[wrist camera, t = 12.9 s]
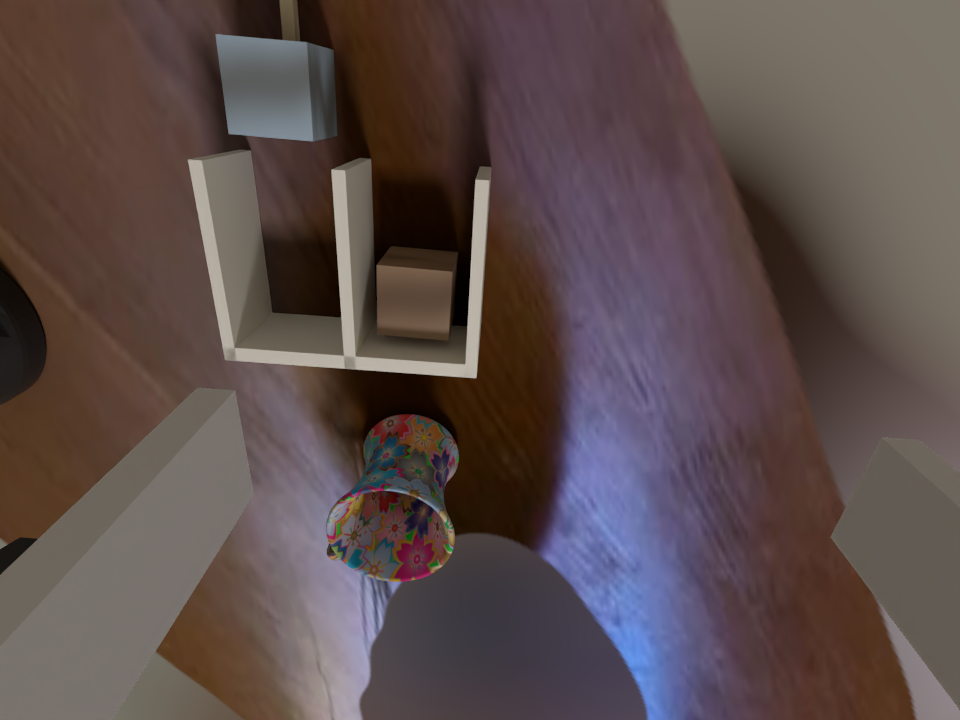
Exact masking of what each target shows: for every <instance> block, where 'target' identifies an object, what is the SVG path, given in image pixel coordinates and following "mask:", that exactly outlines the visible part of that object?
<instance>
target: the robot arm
mask: <svg viewBox="0 0 960 720" xmlns="http://www.w3.org/2000/svg"><path fill="white" fill-rule="evenodd" d="M45 360H46V343H45V337H44V334H43V330H42V327H41V324H40V322H39V319H38V317H37V315H36V313H35V311H34V309H33V308H32V306H31V304H30V303H29V301H28V300H27V298H26V297H25V296H24V294H23V293H22V292H21V290H20V289H19V288H18V287H17V285H16V284H15V283H14V282H13V281H12V280H11V279H10V278H9V277H8V276H7V275H6V274H5V273H4V272H3V271H2V270H1V269H0V405H1V404H4V403H6V402H7V401H9V400H11V399H12V398H14V397H16V396H17V395H19V394H21V393H22V392H24V391H25V390H27V389H28V388H30V387H31V386H32V385H33V384H34V383H35V382H36V381H37V380H38V378H39V377H40V375H41V373H42V371H43V368H44V365H45ZM253 495H254V493H253V487H252V482H251V476H250V470H249V465H248V459H247V454H246V448H245V443H244V437H243V432H242V426H241V421H240V415H239V410H238V404H237V399H236V393H235V390H222V389H208V388H197V389H196V390H195V391H194V392H193V393H191V394H190V395H189V396H188V397H187V398H186V399H185V400H184V401H183V402H182V403H181V404H180V405H179V406H178V407H177V408H176V409H175V410H174V411H173V412H171V413H170V414H169V415H168V416H167V417H166V418H165V419H164V420H163V421H162V422H161V423H160V424H159V425H158V426H157V427H156V428H155V429H154V430H152V431H151V432H150V433H149V434H148V435H147V436H146V437H145V438H144V439H143V440H142V441H141V442H140V443H139V444H138V445H137V446H136V447H135V448H134V449H132V450H131V451H130V452H129V453H128V454H127V455H126V456H125V457H124V458H123V459H122V460H121V461H120V462H119V463H118V464H117V465H116V466H115V467H113V468H112V469H111V470H110V471H109V472H108V473H107V474H106V475H105V476H104V477H103V478H102V479H101V480H100V481H99V482H98V483H97V484H96V485H94V486H93V487H92V488H91V489H90V490H89V491H88V492H87V493H86V494H85V495H84V496H83V497H82V498H81V499H80V500H79V501H78V502H77V503H76V504H74V505H73V506H72V507H71V508H70V509H69V510H68V511H67V512H66V513H65V514H64V515H63V516H62V517H61V518H60V519H59V520H58V521H57V522H55V523H54V524H53V525H52V526H51V527H50V528H49V529H48V530H47V531H46V532H45V533H44V534H43V535H42V536H41V537H40V538H39V539H33V538H19V539H17V540H15V541H13V542H12V543H10V544H8V545H7V546H5V547H3V548H2V549H0V720H113V718H114V717H115V715H116V714H117V712H118V710H119V709H120V707H121V706H122V704H123V702H124V701H125V699H126V697H127V696H128V694H129V693H130V691H131V690H132V688H133V686H134V685H135V683H136V682H137V680H138V678H139V677H140V675H141V674H142V672H143V670H144V669H145V667H146V666H147V664H148V662H149V661H150V659H151V658H152V656H153V655H154V653H155V651H156V650H157V648H158V647H159V645H160V643H161V642H162V640H163V639H164V637H165V635H166V634H167V632H168V631H169V629H170V627H171V626H172V624H173V623H174V621H175V620H176V618H177V616H178V615H179V613H180V612H181V610H182V608H183V607H184V605H185V604H186V602H187V600H188V599H189V597H190V596H191V594H192V592H193V591H194V589H195V588H196V586H197V584H198V583H199V581H200V580H201V578H202V576H203V575H204V573H205V572H206V570H207V569H208V567H209V565H210V564H211V562H212V561H213V559H214V557H215V556H216V554H217V553H218V551H219V549H220V548H221V546H222V545H223V543H224V541H225V540H226V538H227V537H228V535H229V533H230V532H231V530H232V529H233V527H234V525H235V524H236V522H237V521H238V519H239V518H240V516H241V514H242V513H243V511H244V510H245V508H246V506H247V505H248V503H249V502H250V500H251V498H252V497H253ZM831 538H832V540H833V541H834V542H835V544H836V545H837V546H838V548H839V549H840V550H841V552H842V553H843V554H844V556H845V557H846V558H847V560H848V561H849V562H850V564H851V565H852V566H853V568H854V569H855V570H856V572H857V573H858V574H859V576H860V577H861V578H862V580H863V581H864V582H865V584H866V585H867V586H868V588H869V589H870V590H871V592H872V593H873V594H874V596H875V597H876V598H877V600H878V601H879V602H880V604H881V605H882V606H883V608H884V609H885V610H886V612H887V613H888V614H889V616H890V617H891V618H892V620H893V621H894V623H895V624H896V625H897V627H898V628H899V629H900V631H901V632H902V633H903V635H904V636H905V637H906V639H907V640H908V641H909V643H910V644H911V645H912V646H913V648H914V649H915V651H916V652H917V653H918V654H919V656H920V657H921V659H922V660H923V661H924V662H925V664H926V665H927V667H928V668H929V669H930V671H931V672H932V673H933V675H934V676H935V677H936V679H937V680H938V681H939V683H940V684H941V685H942V686H943V688H944V689H945V691H946V692H947V693H948V694H949V696H950V697H951V698H952V700H953V701H954V703H955V704H956V705H957V707H958V708H959V709H960V473H959V472H958V471H957V470H955V469H954V468H953V467H952V466H950V465H949V464H948V463H947V462H946V461H944V460H943V459H942V458H941V457H939V456H938V455H937V454H936V453H935V452H933V451H932V450H931V449H930V448H928V447H927V446H926V445H925V444H923V443H922V442H921V441H920V440H910V439H896V438H884V437H881V439H880V441H879V443H878V445H877V447H876V449H875V451H874V453H873V455H872V457H871V459H870V461H869V463H868V465H867V467H866V469H865V471H864V473H863V475H862V477H861V478H860V480H859V483H858V484H857V486H856V488H855V490H854V492H853V494H852V496H851V498H850V500H849V502H848V504H847V506H846V508H845V510H844V512H843V514H842V516H841V518H840V520H839V522H838V524H837V526H836V528H835V530H834V532H833V534H832V535H831Z"/></svg>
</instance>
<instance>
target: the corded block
mask: <svg viewBox="0 0 960 720" xmlns="http://www.w3.org/2000/svg"><path fill="white" fill-rule="evenodd" d="M279 1H280V13H281V25H282V37H283V40H275V39H264V38H253V37H241V36H230V35H219V34H215V35H216V42H217V50H218V57H219V65H220V72H221V80H222V87H223V95H224V102H225V110H226V117H227V125H228V133H229V134H235V135H246V136H258V137H269V138H280V139H292V140H303V141H317V140H322V139H326V138H331V137H335V136H337V114H336V91H335V69H334V50H332V49H328V48H325V47H321V46H318V45H314V44H311V43H308V42H300V32H299V17H298V3H297V0H279Z"/></svg>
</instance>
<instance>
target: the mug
mask: <svg viewBox="0 0 960 720" xmlns="http://www.w3.org/2000/svg"><path fill="white" fill-rule="evenodd" d="M363 451H364V459H365V462H366V468H365V472H364V474H363V476H362V478H361V480H360V481H359V482H358V484H357V485H356V486H355V487H354V488H353V489H352V490H351V491H350V492H348V493H347V494H346V495H344V496H343V497H342V498H341V499H339V500H338V501H337V502H336V504H335V505H334V506H333V508H332V509H331V511H330V513H329V516H328V519H327V524H326V531H327V537H328V541H329V543H330V544H329V546H328V548H327V555H328V557H329V558H330V559H332V560H339V559H341V560H342V561H343V562H344V563H345V564H346V565H348V566H349V567H351V568H352V569H354V570H355V571H357V572H359V573H361V574H363V575H366V576H368V577H371V578H375V579H379V580H384V581H396V582H400V581H410V580H416V579H419V578H423V577H425V576H428V575H430V574H432V573H433V572H435V571H437V570H438V569H439V568H441V566H443V565H444V564H445V562H446V561H447V560H448V558H449V557H450V555H451V553H452V551H453V547H454V541H455V534H454V528H453V525H452V522H451V520H450V518H449V516H448V514H447V512H446V509H445V505H444V488H445V485H446V482H448V481H449V480H450V479H451V477H452V476H453V474H454V473H455V471H456V469H457V466H458V462H459V452H458V448H457V444H456V442H455V440H454V438H453V437H452V435H451V434H450V433H449V431H448V430H447V429H446V428H445V427H443V426H442V425H441V424H439V423H438V422H436V421H434V420H432V419H430V418H427V417H424V416H420V415H415V414H400V415H395V416H391V417H388V418H386V419H384V420H382V421H380V422H379V423H377V424H376V425H375V426H374V427H373V428H372V429H371V430H370V432H369V433H368V435H367V437H366V439H365V442H364V449H363Z"/></svg>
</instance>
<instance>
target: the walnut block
mask: <svg viewBox="0 0 960 720" xmlns="http://www.w3.org/2000/svg"><path fill="white" fill-rule="evenodd" d="M457 266H458V252H452V251H441V250H430V249H419V248H408V247H397V246H391V247H390V248H389V249H388V251H387V252H386V253H385V255H384V256H383V257H382V259H381V260H380V261H379V262H378V264H377V334H379V335H390V336H401V337H412V338H423V339H434V340H445V341H449V336H450V332H451V328H452V323H453V319H454V314H455V298H456V282H457Z"/></svg>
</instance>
